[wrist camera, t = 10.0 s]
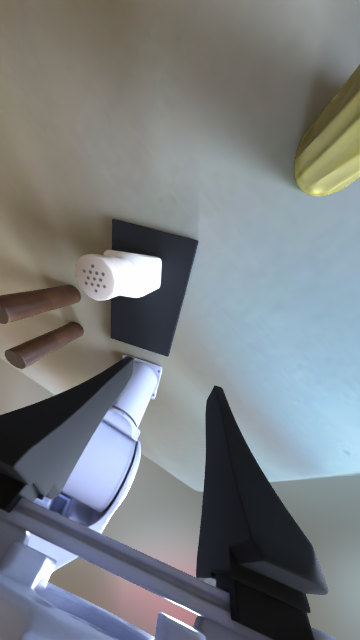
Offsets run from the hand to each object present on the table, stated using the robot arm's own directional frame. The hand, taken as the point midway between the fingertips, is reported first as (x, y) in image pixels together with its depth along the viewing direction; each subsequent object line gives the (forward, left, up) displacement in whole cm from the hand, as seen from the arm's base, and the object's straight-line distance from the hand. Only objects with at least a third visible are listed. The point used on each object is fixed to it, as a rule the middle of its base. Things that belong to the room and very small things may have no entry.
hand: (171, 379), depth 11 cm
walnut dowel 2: (-7, +20, -10) cm, 24 cm away
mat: (+3, +7, -10) cm, 13 cm away
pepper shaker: (+7, +7, -10) cm, 14 cm away
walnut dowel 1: (0, +20, -10) cm, 23 cm away
